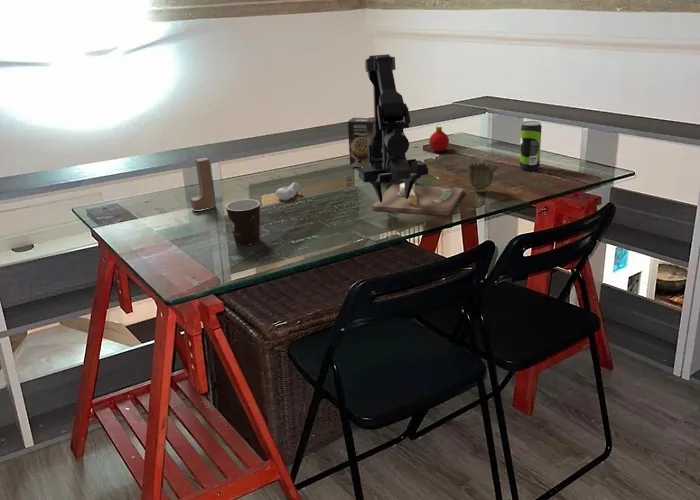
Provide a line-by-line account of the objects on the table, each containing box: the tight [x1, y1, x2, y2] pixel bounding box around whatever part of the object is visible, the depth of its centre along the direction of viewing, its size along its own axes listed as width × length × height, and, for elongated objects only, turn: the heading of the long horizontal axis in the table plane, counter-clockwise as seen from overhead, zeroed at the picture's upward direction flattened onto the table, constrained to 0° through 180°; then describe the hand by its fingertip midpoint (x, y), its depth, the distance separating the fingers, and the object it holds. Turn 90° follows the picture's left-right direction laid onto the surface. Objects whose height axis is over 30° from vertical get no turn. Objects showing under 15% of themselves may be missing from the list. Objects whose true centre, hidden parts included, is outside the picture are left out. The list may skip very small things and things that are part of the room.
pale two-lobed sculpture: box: [275, 182, 301, 201], centre depth 205 cm, size 4×8×5 cm
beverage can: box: [519, 120, 542, 172], centre depth 215 cm, size 6×6×15 cm
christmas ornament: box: [428, 123, 450, 152], centre depth 242 cm, size 7×7×10 cm
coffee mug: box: [225, 198, 261, 246], centre depth 172 cm, size 12×9×10 cm
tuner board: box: [371, 184, 464, 216], centre depth 195 cm, size 22×20×1 cm
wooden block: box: [190, 157, 217, 210], centre depth 197 cm, size 7×3×15 cm, turn 121°
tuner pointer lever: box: [399, 180, 417, 206], centre depth 193 cm, size 14×4×3 cm, turn 5°
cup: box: [468, 162, 495, 194], centre depth 198 cm, size 8×7×8 cm
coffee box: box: [347, 117, 375, 168], centre depth 229 cm, size 9×6×16 cm
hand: (393, 200), depth 189 cm, fingers open, 7 cm apart
